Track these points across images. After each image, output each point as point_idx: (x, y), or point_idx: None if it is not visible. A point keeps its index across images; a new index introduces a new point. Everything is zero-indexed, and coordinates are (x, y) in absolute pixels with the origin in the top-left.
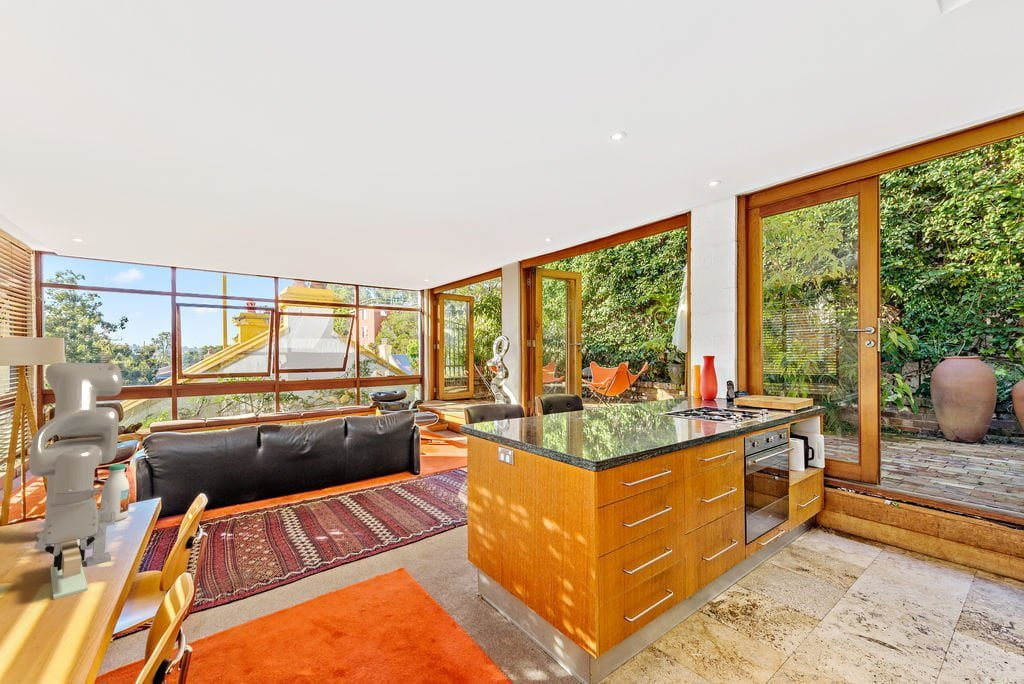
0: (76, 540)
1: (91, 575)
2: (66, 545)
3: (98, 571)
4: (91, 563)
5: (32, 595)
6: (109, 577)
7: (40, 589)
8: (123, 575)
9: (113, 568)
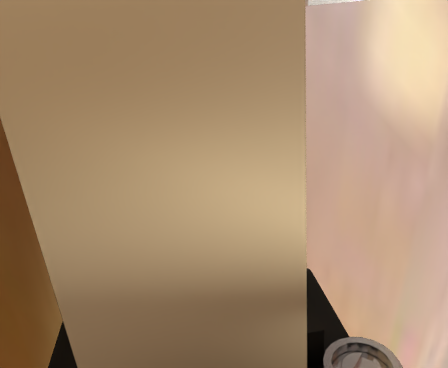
0: (301, 150)
1: (308, 244)
2: (151, 363)
3: (349, 196)
4: (333, 1)
5: (32, 363)
6: (379, 335)
7: (51, 298)
8: (435, 347)
9: (427, 202)
